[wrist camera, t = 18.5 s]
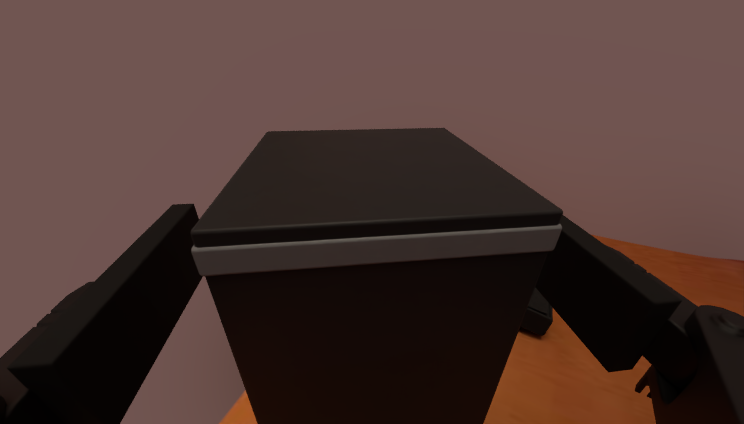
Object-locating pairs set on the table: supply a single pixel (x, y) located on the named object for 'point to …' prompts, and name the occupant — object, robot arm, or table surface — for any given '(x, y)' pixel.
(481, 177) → the dark lidded box
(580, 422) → the table surface
